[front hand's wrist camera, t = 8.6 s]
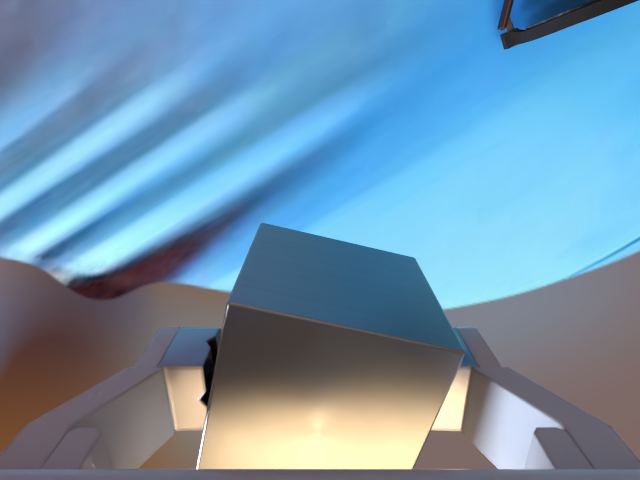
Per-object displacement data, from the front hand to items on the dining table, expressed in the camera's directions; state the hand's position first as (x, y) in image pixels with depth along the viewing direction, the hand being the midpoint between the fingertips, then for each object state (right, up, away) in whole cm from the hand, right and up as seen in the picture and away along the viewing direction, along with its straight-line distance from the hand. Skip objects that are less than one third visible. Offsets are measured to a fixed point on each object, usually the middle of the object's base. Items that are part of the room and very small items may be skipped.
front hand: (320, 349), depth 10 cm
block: (0, +1, +2) cm, 2 cm away
